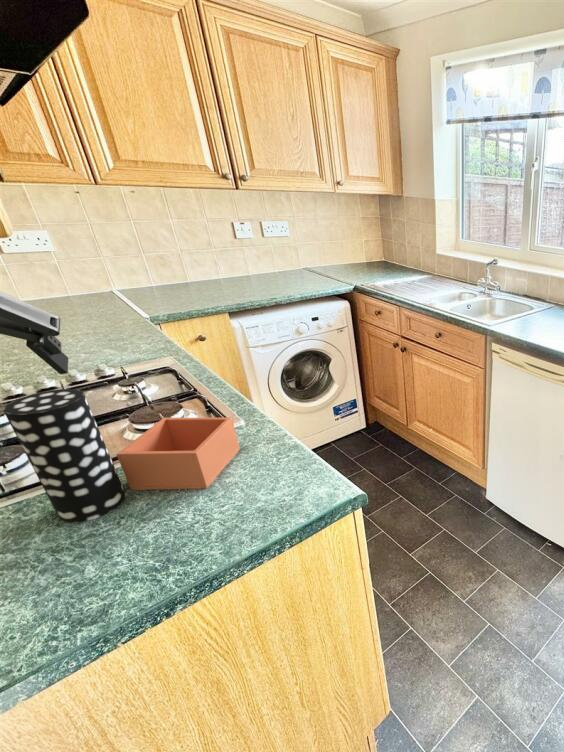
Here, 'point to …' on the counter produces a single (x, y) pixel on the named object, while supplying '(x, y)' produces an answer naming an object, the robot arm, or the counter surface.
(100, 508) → the white-spotted black cylinder
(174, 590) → the counter surface
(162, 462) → the box
